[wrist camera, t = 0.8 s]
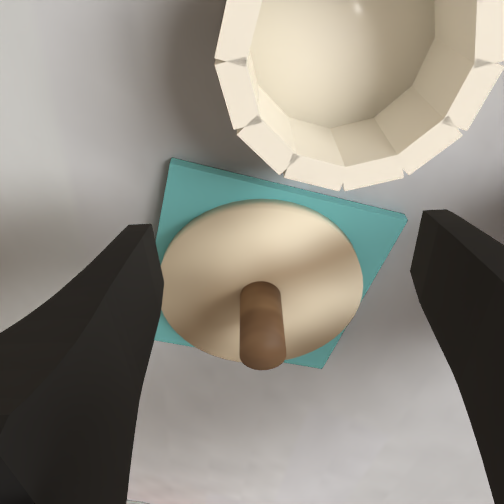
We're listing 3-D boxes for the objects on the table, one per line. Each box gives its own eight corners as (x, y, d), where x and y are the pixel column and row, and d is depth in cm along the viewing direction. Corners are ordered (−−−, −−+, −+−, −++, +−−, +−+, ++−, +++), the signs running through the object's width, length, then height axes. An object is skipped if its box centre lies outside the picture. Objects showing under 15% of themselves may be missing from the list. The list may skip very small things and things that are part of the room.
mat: (404, 214, 23) (407, 220, 22) (320, 361, 30) (322, 368, 29) (171, 157, 21) (170, 163, 20) (139, 330, 28) (138, 337, 27)
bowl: (495, 33, 18) (559, 63, 14) (320, 176, 22) (336, 229, 18) (362, -192, 14) (404, -228, 10) (176, 31, 18) (158, 61, 14)
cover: (398, 284, 25) (428, 354, 21) (257, 373, 30) (259, 444, 26) (263, 154, 20) (268, 213, 16) (119, 284, 25) (95, 355, 21)
